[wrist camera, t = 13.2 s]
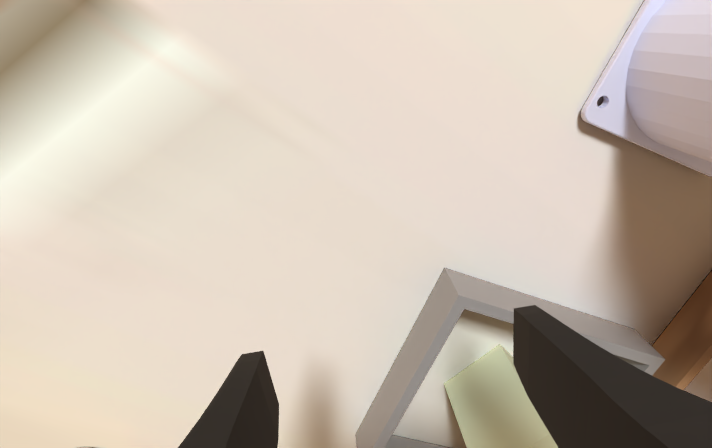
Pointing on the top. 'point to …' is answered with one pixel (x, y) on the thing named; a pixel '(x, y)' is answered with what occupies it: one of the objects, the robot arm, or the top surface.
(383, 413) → the grey bin
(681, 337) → the walnut bin
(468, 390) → the sage block
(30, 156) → the top surface
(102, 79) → the top surface
